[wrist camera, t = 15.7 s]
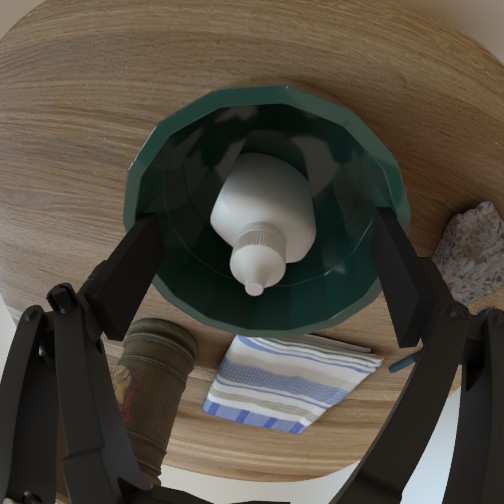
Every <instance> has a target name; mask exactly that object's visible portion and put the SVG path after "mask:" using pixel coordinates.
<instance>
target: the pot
mask: <svg viewBox="0 0 504 504" xmlns="http://www.w3.org/2000/svg"><path fill="white" fill-rule="evenodd" d="M242 153H261V154H266V155H270V156H273V157H276V158H279V159H281V160H283V161H285V162H287V163H288V164H290V165H291V166H293V167H294V168H295V169H297V170H298V171H299V172H300V173H301V174H302V175H303V176H304V177H305V178H306V179H307V181H308V182H309V185H310V190H311V196H312V202H313V209H314V216H315V224H316V237H315V240H314V242H313V244H312V246H311V248H310V249H309V251H308V252H307V254H306V255H305V256H304V258H302V259H301V260H300V261H297V262H291V263H286V270H285V273H284V275H283V277H282V279H280V281H278V282H277V283H276V284H274V285H272V286H270V287H266V288H264V290H263V292H262V293H261V294H260V295H258V296H252V295H250V294H248V293H247V292H246V289H245V285H244V284H242V283H241V282H239V281H238V280H237V279H236V278H235V276H234V275H233V274H232V271H231V269H230V268H231V267H230V260H231V255H232V252H233V248H234V247H232V246H231V245H230V244H228V243H227V242H226V241H225V240H224V239H223V238H222V237H221V236H220V235H219V234H218V233H217V232H216V231H215V230H214V228H213V226H212V224H211V214H212V211H213V208H214V206H215V203H216V201H217V198H218V196H219V194H220V191H221V189H222V187H223V185H224V183H225V181H226V179H227V177H228V175H229V173H230V171H231V169H232V167H233V165H234V163H235V161H236V159H237V157H238V156H239V155H240V154H242ZM376 207H390V208H391V210H392V211H393V213H394V215H395V217H396V218H397V220H398V222H399V223H400V225H401V227H402V229H403V230H404V232H405V234H406V236H408V231H409V226H410V220H411V210H410V206H409V202H408V198H407V194H406V190H405V186H404V182H403V179H402V175H401V172H400V168H399V165H398V161H397V160H396V158H395V157H394V155H393V154H392V153H391V152H390V151H389V149H388V148H387V147H386V146H385V145H384V144H383V142H382V141H381V140H380V139H379V138H378V137H377V136H376V135H375V133H374V132H373V131H372V130H371V129H370V128H369V127H368V126H367V125H366V124H365V122H364V121H363V120H362V119H361V118H360V117H359V116H358V115H357V114H356V113H355V112H354V111H352V110H351V109H350V108H348V107H347V106H345V105H344V104H343V103H341V102H340V101H338V100H337V99H335V98H334V97H333V96H331V95H330V94H328V93H326V92H324V91H321V90H319V89H316V88H314V87H311V86H309V85H306V84H303V83H301V82H298V81H295V80H292V79H289V78H262V79H248V80H241V81H238V82H235V83H232V84H230V85H227V86H224V87H221V88H219V89H216V90H213V91H211V92H209V93H208V94H206V95H204V96H202V97H200V98H199V99H197V100H195V101H193V102H192V103H190V104H188V105H186V106H185V107H183V108H181V109H180V110H178V111H176V112H175V113H173V114H171V115H170V116H168V117H167V118H165V119H163V120H162V121H160V122H159V123H158V124H157V125H156V127H155V128H154V130H153V131H152V133H151V134H150V136H149V137H148V139H147V140H146V142H145V143H144V145H143V146H142V148H141V150H140V151H139V153H138V154H137V156H136V158H135V159H134V161H133V162H132V164H131V166H130V167H129V169H128V174H127V182H126V191H125V200H124V210H123V224H124V227H125V230H126V233H128V232H129V230H130V229H131V228H132V226H133V225H134V224H135V223H136V221H137V220H138V219H139V218H140V216H141V215H142V214H143V213H151V212H156V216H157V220H158V224H159V228H160V232H161V236H162V239H163V243H164V247H165V250H166V256H165V258H164V260H163V261H162V263H161V265H160V267H159V269H158V271H157V273H156V275H155V277H154V278H153V280H152V282H151V283H152V284H153V285H154V287H155V288H156V289H157V290H158V291H159V293H160V294H161V295H162V296H163V297H164V299H166V300H167V301H168V302H170V303H171V304H173V305H174V306H176V307H177V308H179V309H180V310H182V311H183V312H185V313H186V314H188V315H190V316H191V317H193V318H194V319H196V320H197V321H199V322H201V323H202V324H204V325H207V326H210V327H214V328H217V329H220V330H223V331H227V332H230V333H234V334H237V335H240V336H244V337H250V338H292V337H293V338H294V337H298V336H302V335H306V334H309V333H313V332H317V331H320V330H324V329H327V328H331V327H334V326H337V325H339V324H340V323H342V322H343V321H345V320H346V319H348V318H350V317H351V316H353V315H354V314H356V313H357V312H359V311H360V310H362V309H363V308H365V307H366V306H368V305H369V304H371V303H372V302H373V301H374V300H375V299H376V298H377V297H378V295H379V294H380V293H381V291H382V290H383V289H382V286H381V283H380V280H379V277H378V274H377V271H376V268H375V265H374V262H373V259H372V256H371V253H370V248H371V242H372V235H373V228H374V220H375V212H376Z"/></svg>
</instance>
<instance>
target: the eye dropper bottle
mask: <svg viewBox="0 0 504 504" xmlns="http://www.w3.org/2000/svg"><path fill="white" fill-rule="evenodd" d="M211 224H212V226H213V228H214V230H215V231H216V232H217V233H218V234H219V235H220V236H221V237H222V238H223V239H224V240H225V241H226V242H227V243H228V244H230V245H231V246H232V247H234V248H233V252H232V255H231V260H230V267H231V268H230V269H231V271H232V274H233V275H234V276H235V278H236V279H237V280H238V281H239V282H241V283H242V284H244V285H245V289H246V292H247V293H248V294H250V295H252V296H258V295H260V294H261V293H262V292H263V290H264V288H266V287H270V286H272V285H274V284H276V283H277V282H278V281H280V279H282V277H283V275H284V273H285V270H286V263H291V262H297V261H300V260H301V259H302V258H304V256H305V255H306V254H307V252H308V251H309V249H310V248H311V246H312V244H313V242H314V240H315V237H316V224H315V216H314V209H313V202H312V196H311V190H310V185H309V182H308V181H307V179H306V178H305V177H304V176H303V175H302V174H301V173H300V172H299V171H298V170H297V169H295V168H294V167H293V166H291V165H290V164H288V163H287V162H285V161H283V160H281V159H279V158H276V157H273V156H270V155H266V154H261V153H242V154H240V155H239V156H238V157H237V159H236V161H235V163H234V165H233V167H232V169H231V171H230V173H229V175H228V177H227V179H226V181H225V183H224V185H223V187H222V189H221V191H220V194H219V196H218V198H217V201H216V203H215V206H214V208H213V211H212V214H211Z"/></svg>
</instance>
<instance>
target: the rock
mask: <svg viewBox="0 0 504 504" xmlns="http://www.w3.org/2000/svg"><path fill="white" fill-rule="evenodd" d="M431 260H432V261H433V262H434V263H435V264H436V266H437V267H438V269H439V271H440V273H441V275H442V277H443V280H445V282H446V284H447V286H448V288H449V290H450V292H451V294H452V296H453V298H454V300H455V301H458V302H460V303H462V304H464V305H465V306H468V305H469V304H470V303H472V302H474V301H475V300H477V299H479V298H481V297H482V296H485V295H492V294H494V293H495V292H496V291H497V290H498V289H499V287H502V286H503V285H504V221H502V220H501V218H500V216H499V213H498V212H497V211H496V209H495V208H494V205H493V202H491V201H483V202H481V203H480V204H479V205H478V206H477V208H475V209H470V210H468V211H467V212H466V213H464V214H460V213H459V214H456V215H455V216H454V217H453V218H452V219H451V220H450V222H449V223H448V225H447V227H446V229H445V230H444V232H443V235H442V238H441V240H440V242H439V244H438V246H437V247H436V250H435V253H434V255H433V256H432V257H431Z"/></svg>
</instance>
